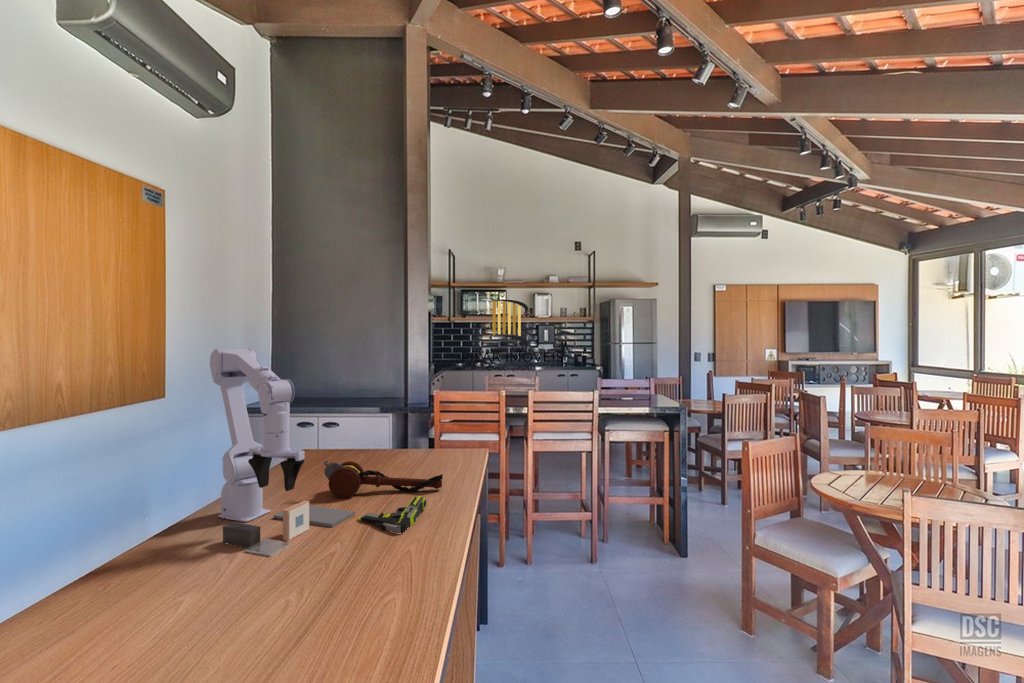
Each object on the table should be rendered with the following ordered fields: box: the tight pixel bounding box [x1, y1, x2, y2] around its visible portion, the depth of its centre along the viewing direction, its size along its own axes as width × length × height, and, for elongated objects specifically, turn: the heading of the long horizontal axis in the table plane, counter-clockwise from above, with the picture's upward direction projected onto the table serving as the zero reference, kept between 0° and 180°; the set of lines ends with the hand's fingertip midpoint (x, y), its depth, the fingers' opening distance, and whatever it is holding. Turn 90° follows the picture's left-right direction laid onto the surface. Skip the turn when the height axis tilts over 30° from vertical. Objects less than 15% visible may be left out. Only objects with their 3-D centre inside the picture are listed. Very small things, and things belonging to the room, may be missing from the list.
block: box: [282, 500, 310, 542], centre depth 117 cm, size 2×7×7 cm, turn 162°
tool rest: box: [272, 504, 356, 528], centre depth 128 cm, size 18×9×1 cm, turn 72°
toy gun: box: [357, 495, 428, 534], centre depth 127 cm, size 20×4×15 cm
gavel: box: [322, 459, 444, 499], centre depth 148 cm, size 10×34×10 cm
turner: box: [222, 521, 292, 557], centre depth 111 cm, size 15×6×4 cm, turn 72°
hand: (276, 488), depth 119 cm, fingers open, 7 cm apart
